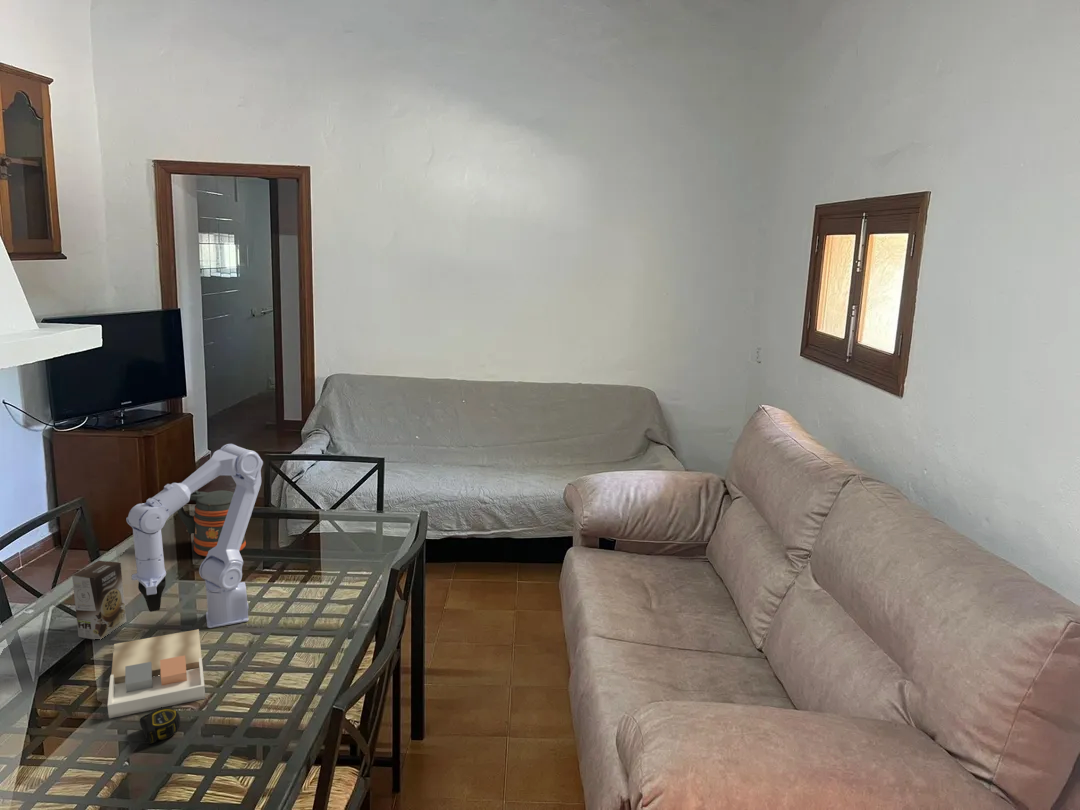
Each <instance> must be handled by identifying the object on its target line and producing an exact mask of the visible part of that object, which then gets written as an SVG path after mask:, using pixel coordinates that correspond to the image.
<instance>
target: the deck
mask: <svg viewBox="0 0 1080 810" xmlns="http://www.w3.org/2000/svg"><path fill="white" fill-rule="evenodd" d="M112 652H113V653H112V664H111V674H110V675H113V674H114V682H115V684H119V683H124V682H125V666H130V665H136V664H141V663H147V662H151V664H152V677H153V676H158V675H161V670H160V660H163V659H168V658H173V657H179V656H184V655H185V659H186V670H191V669H196V668H200V667H199V658H202V657H203V656H202V648H201V636H200V629H199V628H198V629H194V630H193V629H192V630H191V629H190V630H188V631H180V632H176V633H175V632H174V633H169V634H165V635H158V636H152V637H147V638H140V639H136V640H131V641H124V642H118V643H114V644H113V651H112ZM202 659H203V658H202Z"/></svg>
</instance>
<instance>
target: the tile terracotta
mask: <svg viewBox="0 0 1080 810" xmlns="http://www.w3.org/2000/svg"><path fill="white" fill-rule="evenodd" d="M160 670H161V684H162V685H167V684H172V683H177V682H182V681H187V672H186V659H185V655H184V656H179V657H173V658H168V659H163V660H160Z"/></svg>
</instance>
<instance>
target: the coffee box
mask: <svg viewBox="0 0 1080 810" xmlns="http://www.w3.org/2000/svg"><path fill="white" fill-rule="evenodd" d="M71 577H72V588H73V595H74V596H73V597H74V605H75V615H76V625H77V635H78V638H83V639H89V640H95V639H100V640H99V641H102V640H103V639H105V638H106V637H108V636H109V635H110V634H112V633H113V632H114V631H113V630H115V629H116V628H118V627H119V626H121V625H122V624H124V623H125V622H126V623H127V615H126V606H125V596H124V595H125V594H124V593H125V592H124V587H123V586H124V585H123V583H124V582H123V575H122V563H121V562H116V561H107V560H97V561H95V562H94V563H92V564H90V565H88V566H86V567H85V568H82V569H81V570H79V571H77V572H76V573H73V574H72V575H71ZM126 623H125V624H126ZM125 624H124V625H125ZM122 626H123V625H122ZM122 626H121V627H122ZM119 628H120V627H119ZM119 628H118V629H119ZM116 630H117V629H116ZM116 630H115V631H116ZM112 631H113V632H112ZM111 632H112V633H111ZM108 634H109V635H108ZM107 635H108V636H107ZM105 636H106V637H105ZM104 637H105V638H104ZM102 638H103V639H102ZM101 639H102V640H101Z"/></svg>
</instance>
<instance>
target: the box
mask: <svg viewBox="0 0 1080 810" xmlns="http://www.w3.org/2000/svg"><path fill="white" fill-rule="evenodd" d="M203 666H204V665H203V658H199V667H200V668H196V669H191V670H186V672H187V681H182V682H177V683H172V684H167V685H162V684H161V675H160V676H155V677H152V679H153V687H152V688H147V689H142V690H137V691H132V692H127V693H126V686H125V682H124V683H119V684H115V682H114V674H113V675H111V674H110V676H109V686H108V696H107V697H108V698H107V713H108V719H113V718H117V717H119V718H120V717H123V716H128V715H132V714H138V713H142V712H147V711H152V710H158V709H162V708H168V707H171V706H175V705H181V704H186V703H190V702H195V701H200V700H205V699H206V691H205V690H206V689H205V688H206V687H205V678H204V677H205V676H204V668H203ZM161 707H162V708H161Z"/></svg>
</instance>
